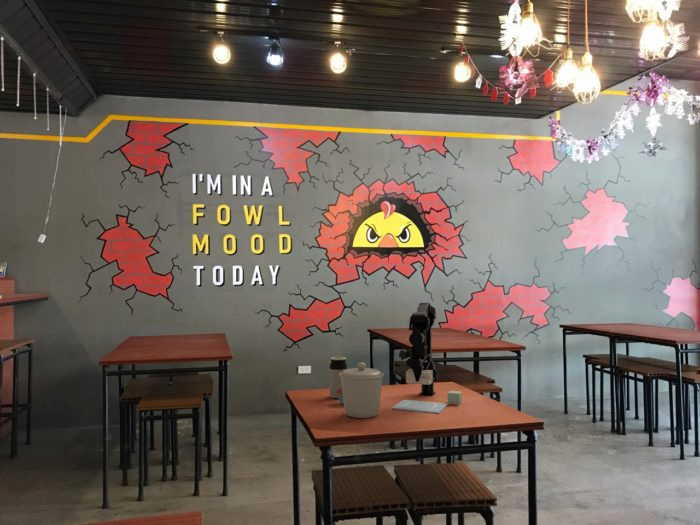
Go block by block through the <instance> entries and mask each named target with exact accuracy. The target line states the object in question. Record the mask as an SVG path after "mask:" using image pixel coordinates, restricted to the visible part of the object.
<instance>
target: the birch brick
mask: <svg viewBox="0 0 700 525" xmlns="http://www.w3.org/2000/svg"><path fill="white" fill-rule="evenodd" d="M433 379H434V378H433V371H432V370H422V373H421V376H420V379H419V382H416V380H415V376H414V372H413V370H412V368H408V370H406V371H405V383H406V384H412V385H413V384H414V385H421V384H426V385H430V384H431V383H432V382H433Z"/></svg>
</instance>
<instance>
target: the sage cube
mask: <svg viewBox="0 0 700 525" xmlns="http://www.w3.org/2000/svg"><path fill="white" fill-rule="evenodd" d="M462 403H463V392H462V390H461V391H460V390H459V391H457V390H450V391H448V392H447V404H448V405H451V404H455V405H454V406H460V405H461V404H462Z"/></svg>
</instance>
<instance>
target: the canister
mask: <svg viewBox="0 0 700 525" xmlns="http://www.w3.org/2000/svg"><path fill="white" fill-rule="evenodd" d="M356 367H357V368H356ZM356 367H354V368H353V367H352V368H347V370H344V371H343V372H341V373H340V374H339V376H340V377H341V386H342V395H343V403H344V405H343V408H344V412H345V414H346V415H347V416H349V417H350V418H354V419H355V418H356V419H369V418H373V417H376V416H377V414H378V413H379V410H380V403H381V397H382V396H381V393H382V386H383V377H384V376H385V373H383V372H381V371H380V370H379V369H376V368H369V367H367V365H366V363H365V362H361V361H360V362H357V364H356Z"/></svg>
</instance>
